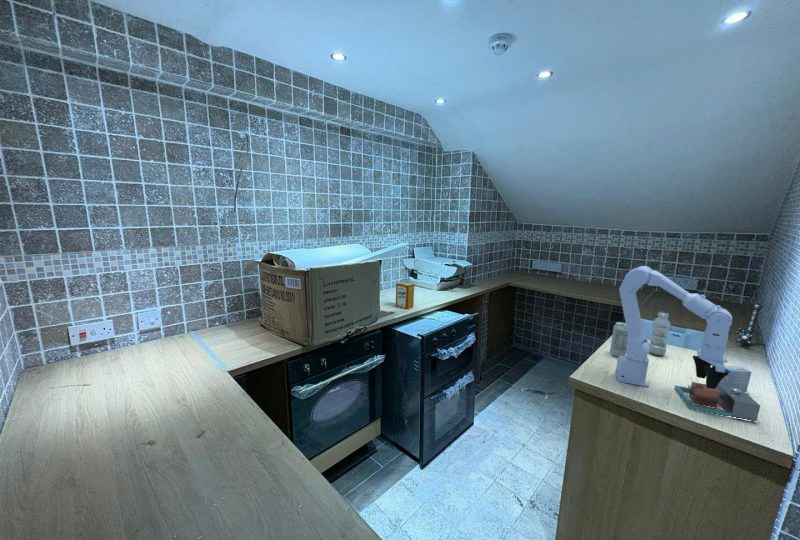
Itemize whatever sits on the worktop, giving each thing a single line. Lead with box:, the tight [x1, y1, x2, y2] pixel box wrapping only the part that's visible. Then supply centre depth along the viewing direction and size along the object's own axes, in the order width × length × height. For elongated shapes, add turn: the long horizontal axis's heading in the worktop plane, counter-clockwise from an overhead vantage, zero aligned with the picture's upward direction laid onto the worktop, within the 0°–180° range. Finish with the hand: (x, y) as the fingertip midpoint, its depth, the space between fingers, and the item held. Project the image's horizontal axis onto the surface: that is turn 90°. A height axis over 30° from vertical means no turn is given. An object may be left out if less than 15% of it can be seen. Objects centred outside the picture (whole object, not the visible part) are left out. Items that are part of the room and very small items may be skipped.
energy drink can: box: [609, 321, 628, 358], centre depth 148 cm, size 6×6×15 cm
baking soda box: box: [395, 281, 415, 310], centre depth 212 cm, size 10×6×16 cm
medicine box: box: [720, 365, 752, 393], centre depth 122 cm, size 8×4×9 cm, turn 92°
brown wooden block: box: [687, 381, 720, 409], centre depth 113 cm, size 7×4×6 cm, turn 66°
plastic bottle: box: [649, 311, 672, 357], centre depth 151 cm, size 6×7×20 cm
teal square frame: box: [674, 382, 761, 422], centre depth 112 cm, size 16×14×7 cm
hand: (705, 382), depth 112 cm, fingers open, 7 cm apart
